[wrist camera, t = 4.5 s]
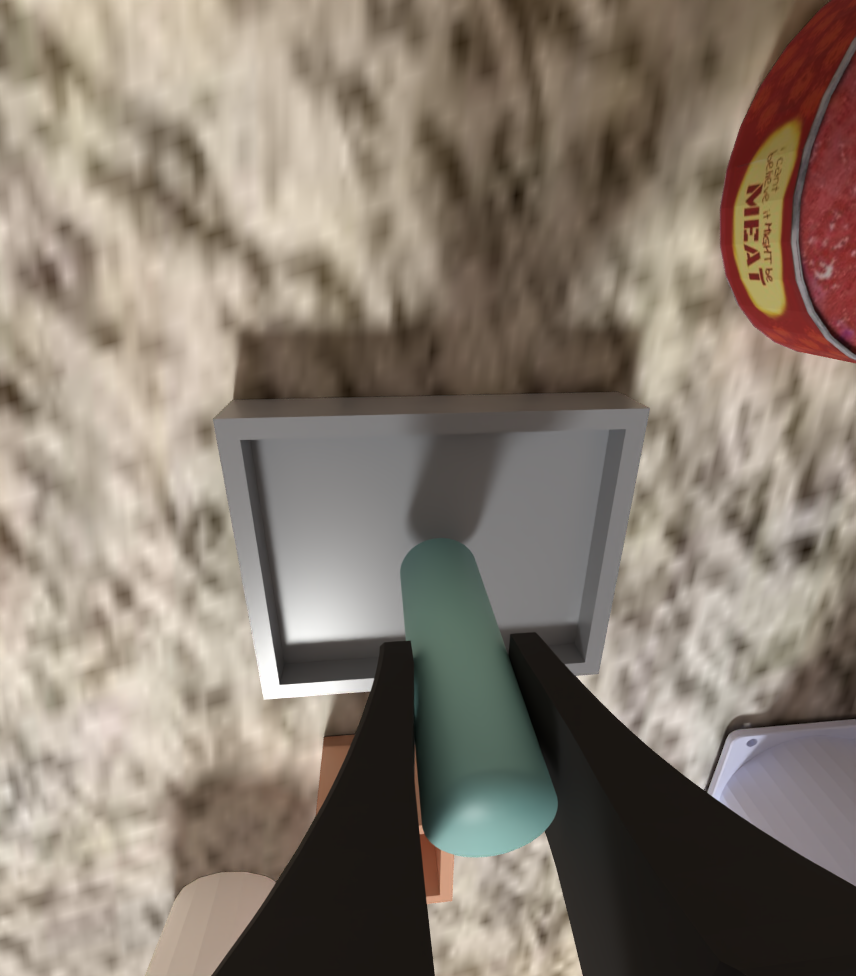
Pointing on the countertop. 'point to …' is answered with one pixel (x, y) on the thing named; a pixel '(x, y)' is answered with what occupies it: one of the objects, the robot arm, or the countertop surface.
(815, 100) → the canned food
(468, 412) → the tray
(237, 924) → the white short cylinder
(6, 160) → the countertop surface
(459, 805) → the pin
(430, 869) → the open box
